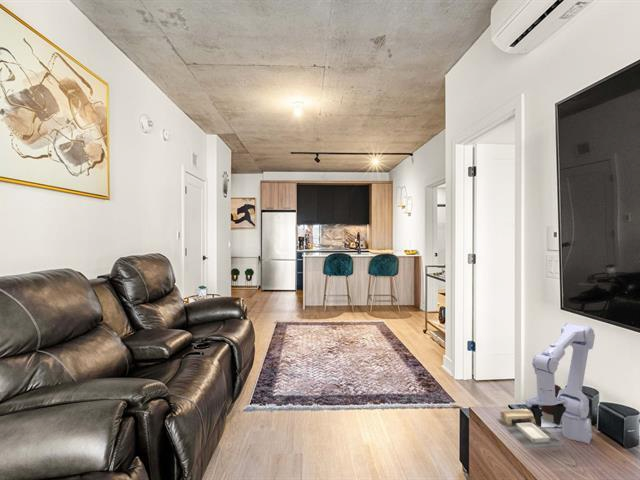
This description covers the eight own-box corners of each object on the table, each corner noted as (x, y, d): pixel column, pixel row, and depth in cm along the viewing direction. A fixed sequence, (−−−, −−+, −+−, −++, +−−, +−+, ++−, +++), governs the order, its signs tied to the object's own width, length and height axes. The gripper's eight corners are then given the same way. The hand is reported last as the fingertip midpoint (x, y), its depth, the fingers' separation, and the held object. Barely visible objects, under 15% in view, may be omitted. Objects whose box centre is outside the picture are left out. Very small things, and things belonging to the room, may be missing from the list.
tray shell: (550, 443, 141) (550, 437, 141) (533, 443, 141) (533, 438, 141) (531, 427, 153) (531, 422, 153) (516, 428, 153) (516, 423, 153)
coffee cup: (534, 419, 161) (533, 385, 161) (548, 413, 165) (546, 380, 165) (558, 429, 152) (556, 392, 152) (571, 422, 157) (570, 387, 157)
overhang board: (566, 448, 138) (565, 434, 138) (526, 450, 138) (525, 436, 138) (529, 419, 161) (529, 407, 161) (495, 420, 161) (495, 409, 161)
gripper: (557, 382, 141) (559, 418, 141) (520, 384, 141) (522, 420, 141) (570, 390, 134) (572, 427, 134) (531, 392, 134) (533, 429, 133)
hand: (547, 424), depth 137 cm, fingers open, 6 cm apart
